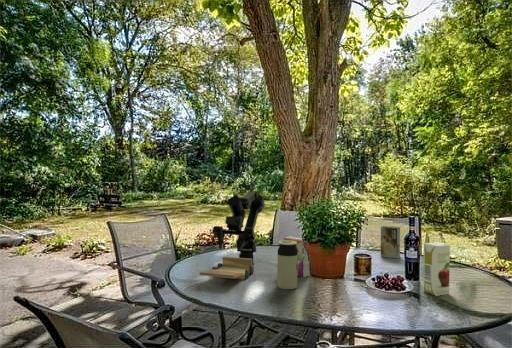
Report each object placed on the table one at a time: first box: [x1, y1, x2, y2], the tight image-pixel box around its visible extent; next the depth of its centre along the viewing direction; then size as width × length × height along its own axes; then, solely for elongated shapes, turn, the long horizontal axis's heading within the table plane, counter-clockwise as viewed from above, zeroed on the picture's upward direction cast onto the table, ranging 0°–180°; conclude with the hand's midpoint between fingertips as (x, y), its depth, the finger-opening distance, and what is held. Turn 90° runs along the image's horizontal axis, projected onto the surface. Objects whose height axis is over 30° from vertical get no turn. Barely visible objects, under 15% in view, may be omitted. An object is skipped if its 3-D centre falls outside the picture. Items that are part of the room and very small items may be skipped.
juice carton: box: [422, 241, 451, 297], centre depth 146 cm, size 8×9×19 cm
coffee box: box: [380, 225, 401, 259], centre depth 207 cm, size 9×6×16 cm
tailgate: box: [199, 269, 244, 279], centre depth 156 cm, size 1×14×14 cm
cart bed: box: [211, 256, 255, 280], centre depth 169 cm, size 13×16×6 cm
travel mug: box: [276, 239, 298, 291], centre depth 152 cm, size 8×8×18 cm
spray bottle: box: [283, 235, 310, 278], centre depth 169 cm, size 11×5×16 cm, turn 47°
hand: (229, 248), depth 165 cm, fingers open, 9 cm apart
